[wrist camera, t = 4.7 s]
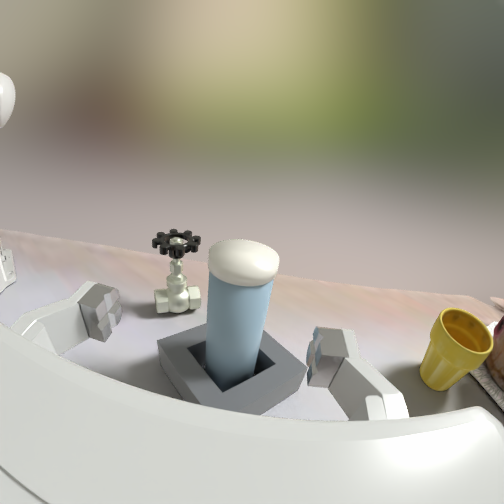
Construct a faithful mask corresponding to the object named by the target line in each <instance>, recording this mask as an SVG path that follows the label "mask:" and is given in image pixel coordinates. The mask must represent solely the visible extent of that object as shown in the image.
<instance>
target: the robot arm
mask: <svg viewBox="0 0 504 504" xmlns="http://www.w3.org/2000/svg"><path fill="white" fill-rule="evenodd" d="M14 104H15V88H14V84H13V82H12V80H11V79H10V78H9V77H8V76H7V75H5V74H3V73H1V72H0V128H1V127H3V126H4V125H5V124H6V122H7V121H8V119H9V117H10V115H11V113H12V111H13V108H14ZM16 279H17V278H16V272H15V266H14V259H13V253H12V250H11V249H3V246H2V242H1V238H0V293H1V292H2V291H3V290H4V289H5V288H6V287H7V286H9V285H10V284H12V283H13V282H15V281H16ZM119 297H120V296H119V292H118V290H117V289H116V288H113V287H109V286H106V285H103V284H99V283H95V282H92V281H86V282H85V283H84V284H83V285H82V286H81V287H80V288H79V289H78V290H77V291H76V292H75V293H74V294H73V295H72V296H71V297H70V298H69V299H68V300H67V299H63V300H60V301H58V302H55V303H52V304H49V305H46V306H43V307H40V308H38V309H35V310H32V311H29V312H26V313H24V314H23V315H22V316H21V317H20V318H19V319H18V320H17V321H16V322H15V323H14V324H13V325H12V326H11V327H10V328H8V327H7V326H5V325H4V324H2V323H1V322H0V504H504V427H503V425H502V424H501V423H500V422H499V421H498V420H497V419H496V418H495V417H494V416H493V415H492V414H491V413H489V412H488V411H487V410H485V409H484V408H482V407H480V406H474V407H469V408H464V409H460V410H455V411H450V412H444V413H439V414H433V415H426V416H418V417H410V418H409V415H408V411H407V408H406V404H405V401H404V397H403V394H402V393H401V392H400V391H399V390H398V389H397V388H395V387H394V386H393V385H392V384H391V383H390V382H389V381H388V380H387V379H386V378H385V377H384V376H383V375H382V374H380V373H379V372H378V371H377V370H376V369H375V368H374V367H373V366H372V365H371V364H370V363H369V362H368V361H367V360H366V359H361V355H360V351H359V347H358V344H357V340H356V337H355V333H354V331H353V330H350V329H335V328H325V327H317V326H316V328H315V330H314V333H313V340H312V341H311V342H310V344H309V347H308V350H307V357H306V363H307V366H308V367H309V369H308V372H307V383H308V386H312V387H323V388H328V390H329V391H330V392H331V394H332V395H333V397H334V398H335V399H336V401H337V402H338V404H339V405H340V406H341V408H342V409H343V411H344V412H345V414H346V415H347V416H348V418H349V420H348V421H319V420H301V419H288V418H278V417H269V416H261V415H253V414H246V413H240V412H234V411H228V410H223V409H218V408H213V407H208V406H203V405H199V404H194V403H190V402H186V401H182V400H178V399H174V398H171V397H167V396H163V395H160V394H157V393H153V392H150V391H147V390H144V389H140V388H137V387H134V386H131V385H129V384H126V383H123V382H120V381H117V380H115V379H112V378H109V377H107V376H104V375H102V374H99V373H97V372H94V371H92V370H89V369H87V368H85V367H82V366H80V365H78V364H76V363H73V362H71V361H69V360H67V359H65V358H63V357H61V356H59V355H61V354H63V353H64V352H66V351H68V350H70V349H71V348H73V347H75V346H76V345H78V344H80V343H82V342H83V341H85V340H87V339H89V337H90V338H93V339H95V340H98V341H102V342H106V340H107V339H108V337H109V336H110V335H111V333H112V330H111V328H113V327H115V326H117V325H118V323H119V322H120V319H121V316H122V308H121V305H120V303H119V302H118V301H117V300H118V299H119Z"/></svg>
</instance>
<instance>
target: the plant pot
mask: <svg viewBox="0 0 504 504" xmlns="http://www.w3.org/2000/svg"><path fill="white" fill-rule="evenodd" d="M430 339H431V341H430V343H429V346H428V349H427V351H426V354H425V357H424V359H423V361H422V364H421V366H420V376H421V378H422V380H423V381H424V383H425V384H426V385H427V386H428V387H430V388H431V389H433V390H436V391H444V390H447V389H448V388H450V387H451V386H452V385H454V384H455V383H456V382H457V381H459V380H460V379H461V378H462V377H464V376H465V375H466V374H467V373H468V372H470V371H472V370H475V369H477V368H478V367H479V366H480V365H481V364H482V363H483V362H484V361H485V359H486V358H487V357H488V355H489V354H490V352H491V351H492V349H493V338H492V335H491V333H490V331H489V330H488V328H487V327H486V326H485V325H484V324H483V323H482V322H481V321H480V320H479V319H478V318H477V317H475V316H474V315H472V314H471V313H469V312H467V311H465V310H462V309H458V308H447V309H444V310H443V311H442V312H441V313H440V314H439V316H438V318H437V320H436V322H435V323H434V325H433V327H432V329H431V332H430Z"/></svg>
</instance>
